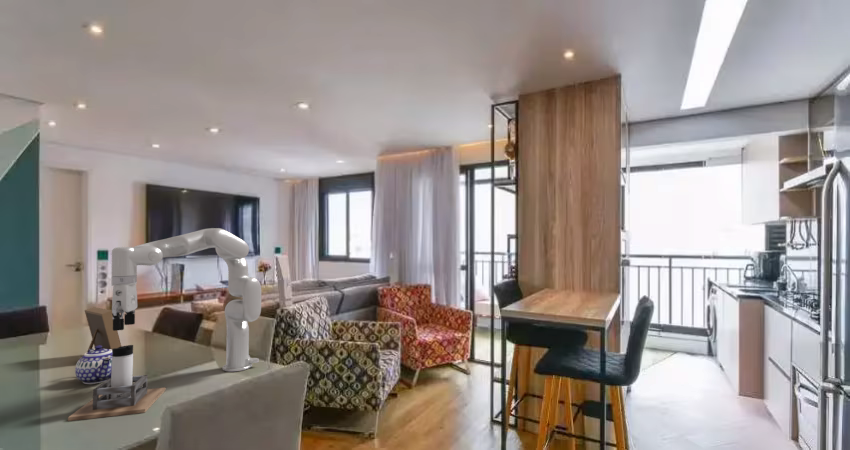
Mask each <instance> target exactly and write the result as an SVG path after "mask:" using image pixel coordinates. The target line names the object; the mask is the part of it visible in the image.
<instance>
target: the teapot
mask: <svg viewBox="0 0 850 450" xmlns="http://www.w3.org/2000/svg"><path fill="white" fill-rule="evenodd" d="M101 348H102V346H101V345H98V346H95V347H94V346H93V348H92V349H89V350H88V349H87V351H88V352H87V351H86V352H85V353H84V354H83V355H82V356H81V357H80V358H79V359H78V361H77V362H76V364H75V370H74V372H75V377H76V379H77V380H78V381H80V382H82V383H83V384H84V385H95V384H102V383H104V382H105V381H106V380H108V379H109V378H111V370H112V354H113V353H112V350H111V349H101Z"/></svg>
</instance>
